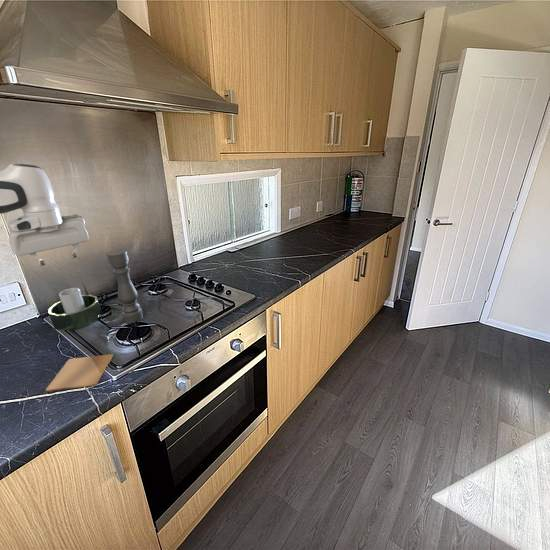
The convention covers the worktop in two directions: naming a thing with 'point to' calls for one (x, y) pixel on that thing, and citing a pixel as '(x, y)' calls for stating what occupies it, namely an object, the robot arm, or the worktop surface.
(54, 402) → the worktop surface
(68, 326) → the bowl
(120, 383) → the worktop surface
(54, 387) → the mat
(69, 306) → the cup
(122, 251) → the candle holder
